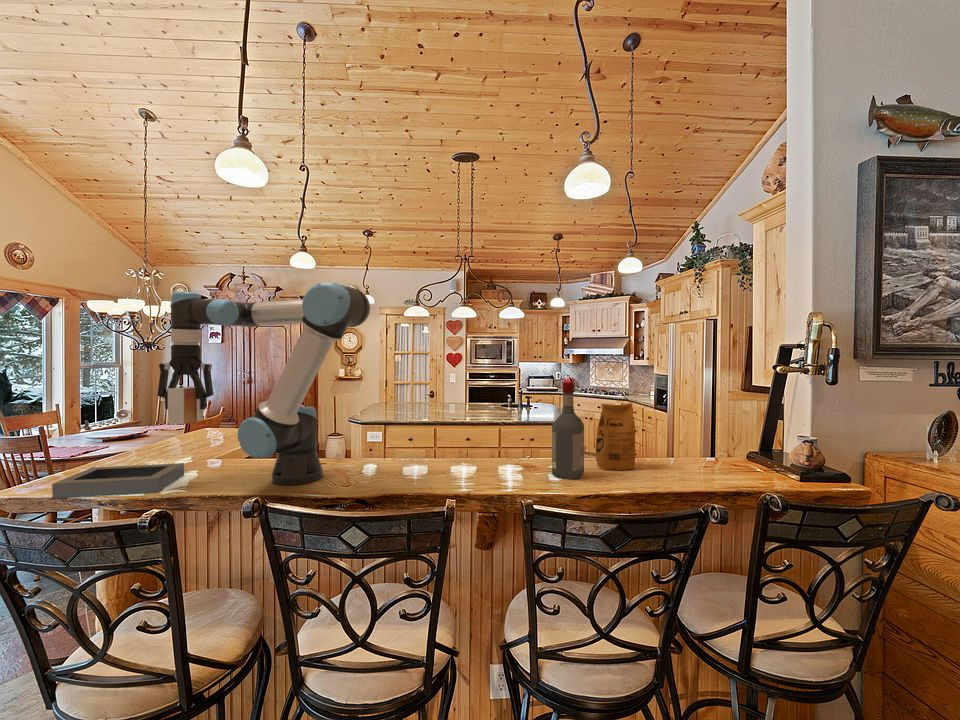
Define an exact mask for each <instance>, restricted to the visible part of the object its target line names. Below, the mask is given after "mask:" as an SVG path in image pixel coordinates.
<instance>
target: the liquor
mask: <svg viewBox="0 0 960 720" xmlns="http://www.w3.org/2000/svg"><path fill="white" fill-rule="evenodd" d="M574 392H575V383H574V382H572V381H570V382H569V381H565V382H562V409H561V413H560V414H559V416H558V417H557V418H556V419H555V420H554V421H553V423H552V426H551V474H552V476H553V477H554V478H556V479H563V480H571V481H573V480H574V481H575V480H579V479H581V478H582V477H583V475H584V473H585V425H584V423H583V421H582V419H580V418H579V416H578V414H576V413H575V409H574Z"/></svg>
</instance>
